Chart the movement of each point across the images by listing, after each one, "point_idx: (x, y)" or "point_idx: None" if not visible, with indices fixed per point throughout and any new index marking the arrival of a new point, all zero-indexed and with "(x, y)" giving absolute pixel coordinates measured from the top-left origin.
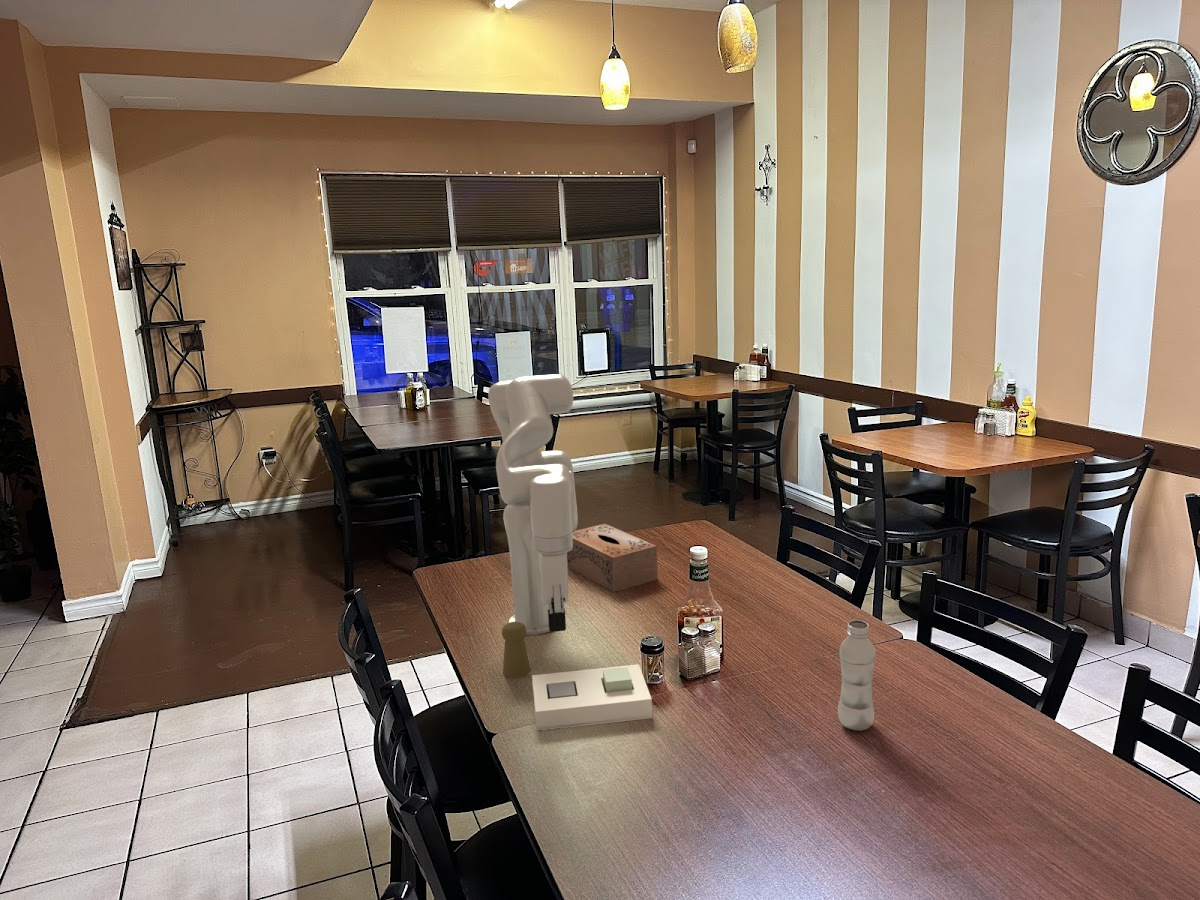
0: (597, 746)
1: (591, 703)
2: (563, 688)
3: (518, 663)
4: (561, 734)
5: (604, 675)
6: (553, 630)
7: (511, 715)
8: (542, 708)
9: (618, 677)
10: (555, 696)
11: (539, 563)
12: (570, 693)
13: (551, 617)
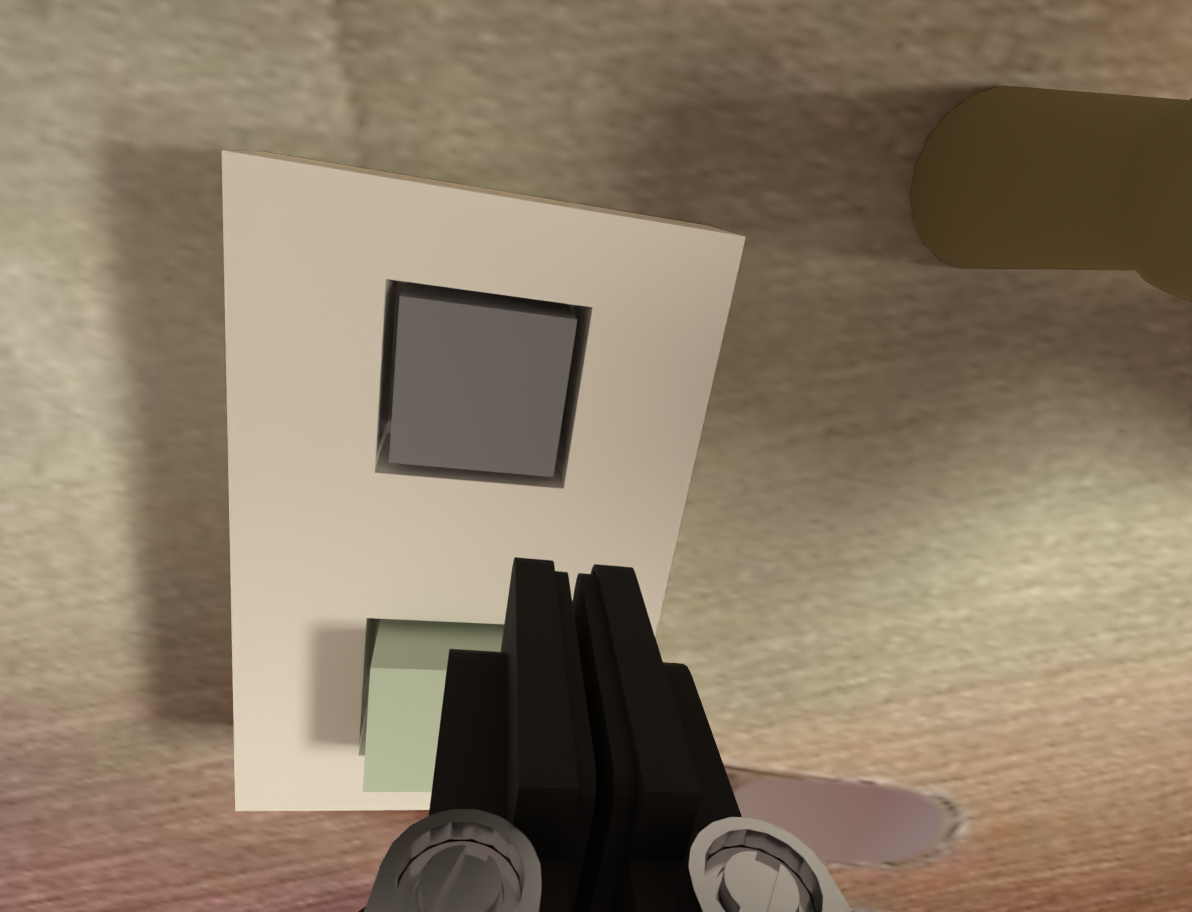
0: (36, 453)
1: (256, 529)
2: (491, 404)
3: (981, 185)
4: (198, 291)
5: None
6: (509, 606)
7: (499, 24)
8: (257, 212)
9: (406, 735)
10: (398, 334)
11: None
12: (412, 434)
13: (507, 749)
